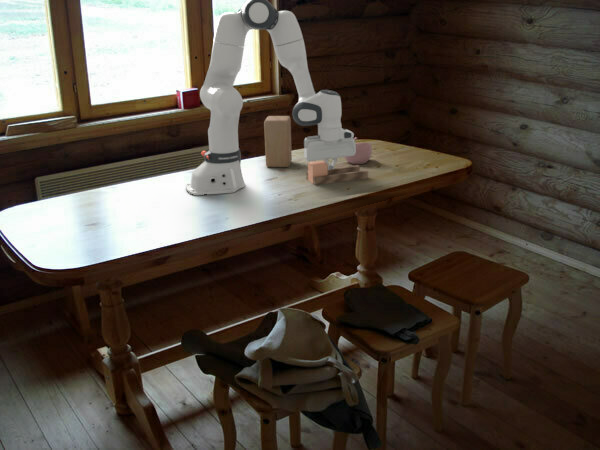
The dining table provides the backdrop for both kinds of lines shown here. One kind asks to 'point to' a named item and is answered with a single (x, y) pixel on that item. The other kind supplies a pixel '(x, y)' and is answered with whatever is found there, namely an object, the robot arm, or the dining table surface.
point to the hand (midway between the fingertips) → (330, 169)
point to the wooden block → (278, 141)
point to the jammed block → (316, 169)
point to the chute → (340, 175)
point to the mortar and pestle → (360, 153)
